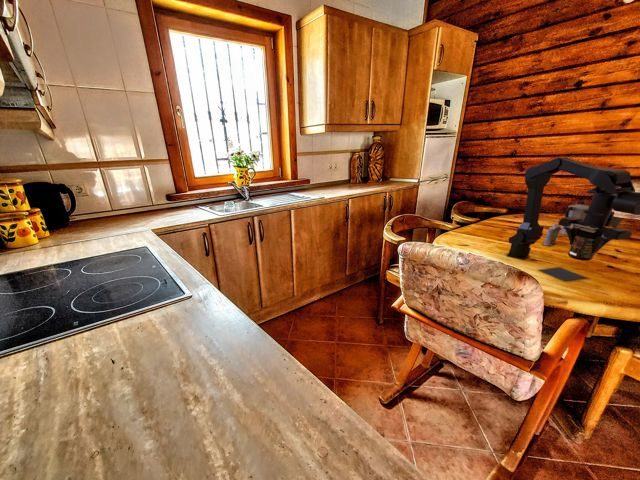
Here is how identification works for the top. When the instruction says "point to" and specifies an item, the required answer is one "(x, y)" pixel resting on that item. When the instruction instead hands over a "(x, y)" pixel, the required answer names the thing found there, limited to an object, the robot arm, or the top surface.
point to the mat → (562, 274)
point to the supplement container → (583, 244)
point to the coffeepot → (575, 213)
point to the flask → (552, 234)
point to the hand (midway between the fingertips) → (582, 249)
